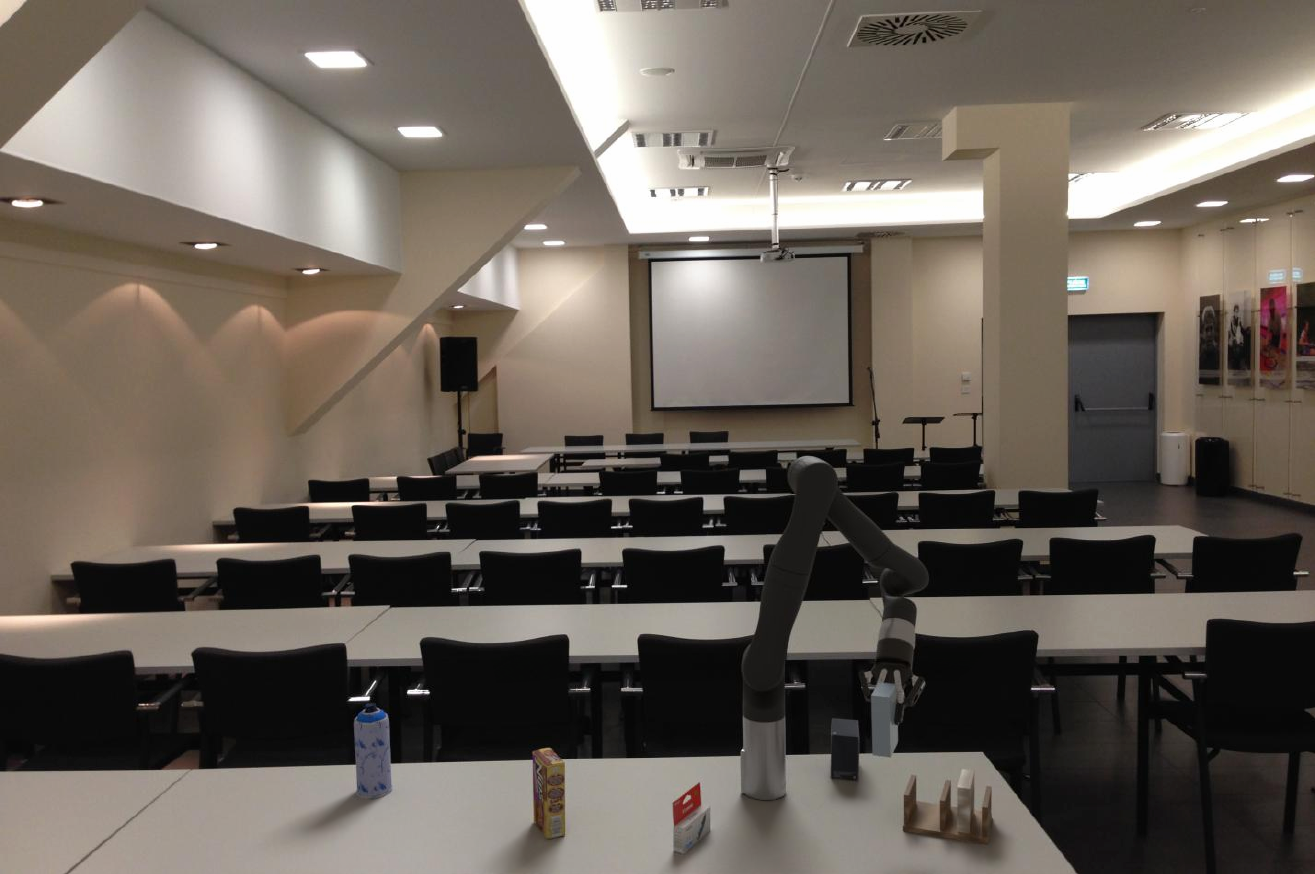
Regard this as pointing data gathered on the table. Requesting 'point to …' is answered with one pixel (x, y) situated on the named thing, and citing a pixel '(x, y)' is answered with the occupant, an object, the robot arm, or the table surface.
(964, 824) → the rack
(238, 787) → the table surface
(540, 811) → the candy box
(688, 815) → the ink cartridge box
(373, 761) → the aerosol can
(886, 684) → the pale blue upright slab
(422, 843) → the table surface
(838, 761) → the small box
